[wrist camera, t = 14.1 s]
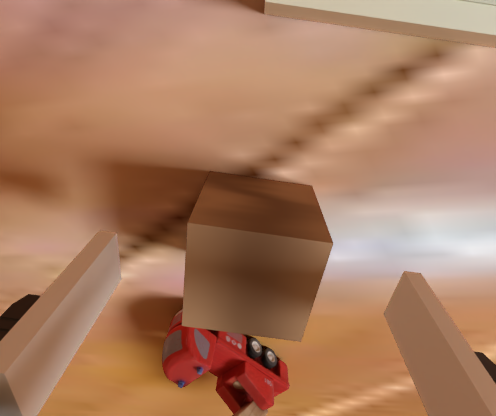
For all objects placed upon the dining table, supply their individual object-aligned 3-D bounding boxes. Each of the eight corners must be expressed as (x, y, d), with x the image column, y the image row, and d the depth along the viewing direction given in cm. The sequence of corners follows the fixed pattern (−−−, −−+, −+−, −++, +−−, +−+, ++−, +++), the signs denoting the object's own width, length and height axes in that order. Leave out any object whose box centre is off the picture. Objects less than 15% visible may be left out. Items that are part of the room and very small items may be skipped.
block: (202, 253, 20) (181, 325, 15) (210, 170, 18) (187, 222, 12) (290, 266, 20) (300, 341, 15) (312, 185, 18) (333, 243, 12)
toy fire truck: (192, 294, 22) (148, 449, 13) (317, 379, 26) (345, 542, 17) (165, 317, 23) (109, 473, 15) (289, 395, 27) (302, 555, 19)
